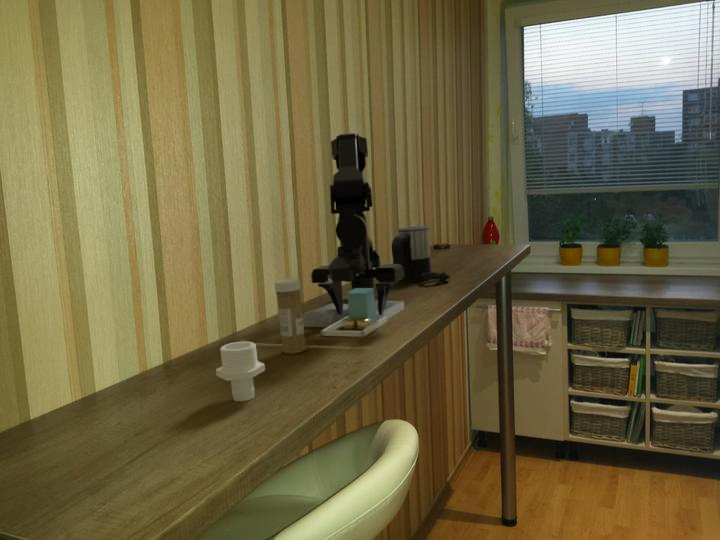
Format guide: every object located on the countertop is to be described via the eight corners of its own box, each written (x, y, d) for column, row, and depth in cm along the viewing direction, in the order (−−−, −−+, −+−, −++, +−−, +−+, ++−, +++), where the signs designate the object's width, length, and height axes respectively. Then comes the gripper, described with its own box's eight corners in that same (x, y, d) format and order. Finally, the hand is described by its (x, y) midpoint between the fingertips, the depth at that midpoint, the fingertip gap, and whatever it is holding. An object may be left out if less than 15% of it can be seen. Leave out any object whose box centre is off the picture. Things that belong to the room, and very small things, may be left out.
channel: (371, 309, 151) (370, 301, 150) (404, 310, 147) (403, 301, 147) (349, 322, 140) (348, 313, 140) (384, 323, 137) (383, 313, 136)
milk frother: (406, 276, 193) (402, 226, 191) (459, 275, 187) (455, 223, 184) (390, 285, 180) (386, 232, 178) (446, 285, 174) (442, 229, 171)
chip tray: (347, 322, 140) (347, 316, 140) (387, 323, 137) (386, 316, 136) (321, 337, 129) (320, 330, 129) (363, 339, 125) (363, 331, 125)
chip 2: (358, 326, 135) (357, 318, 134) (372, 326, 134) (372, 317, 134) (355, 330, 132) (354, 321, 131) (370, 329, 131) (369, 321, 131)
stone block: (295, 337, 139) (335, 329, 135) (289, 316, 139) (329, 307, 135) (321, 326, 150) (360, 318, 145) (316, 305, 150) (354, 297, 145)
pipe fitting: (234, 409, 93) (228, 355, 92) (214, 397, 99) (208, 346, 98) (274, 397, 97) (268, 345, 95) (252, 386, 102) (246, 337, 101)
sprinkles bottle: (310, 350, 120) (303, 279, 118) (287, 356, 118) (279, 283, 116) (300, 346, 124) (293, 276, 122) (278, 350, 122) (270, 280, 120)
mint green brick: (350, 325, 136) (346, 293, 134) (358, 319, 140) (355, 288, 138) (369, 326, 134) (365, 293, 133) (376, 320, 138) (373, 288, 136)
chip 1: (346, 325, 136) (345, 317, 136) (359, 326, 135) (358, 317, 135) (340, 329, 133) (339, 321, 133) (354, 329, 132) (353, 321, 132)
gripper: (294, 246, 129) (302, 323, 132) (381, 243, 122) (388, 325, 124) (320, 239, 140) (327, 310, 142) (402, 236, 132) (407, 311, 134)
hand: (360, 314), depth 135 cm, fingers open, 9 cm apart
